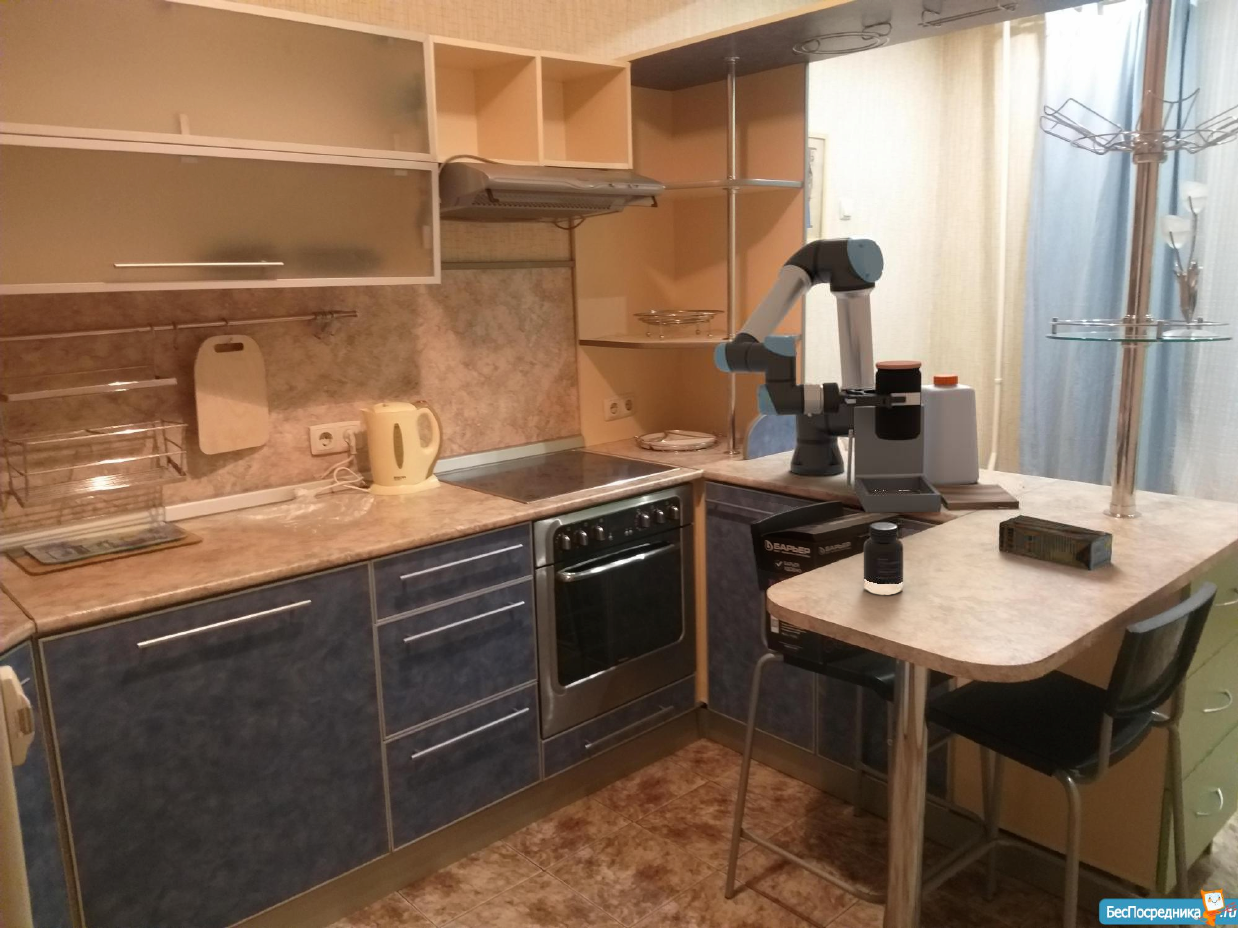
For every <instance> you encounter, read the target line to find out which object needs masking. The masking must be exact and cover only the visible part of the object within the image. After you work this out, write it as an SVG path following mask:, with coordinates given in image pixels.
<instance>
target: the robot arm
mask: <svg viewBox="0 0 1238 928" xmlns="http://www.w3.org/2000/svg"><path fill="white" fill-rule="evenodd" d="M883 256H884V255H883V253H882V249H881V247H880V245H879V243H877V242H876V240H875V239H873V238H872V237H870V236H858V235H853V236H845V237H835V238H820V239H816V240H812V241H811V242H808V243H807V244H806V245H804V246H802V247H800V248H799V249H798V250H797V251H796V252H794V253H793V254H792V255H791V256H790V257H789V258H788V259H787V260H786V261H785V263H784V264H783V265H782V266H781V268H780V269H779V270H778V275H777V276H778V278H777V280H776V281H775V282H774V283H773V285H772V286H771V288H770V289H769V290H768V292H767V293H766V294H765V296H764V297H763V299H762V300H761V301H760V303H759V304H758V305H757V307H756V308H755V309H754V311H753V312H752V313H751V315H750V316H749V317H748V319H746V321H745V323H744V324H743V326H742V327H741V328H740V330H739V331H738V332H737V334H736V335H735V336H734V337H733V339H732V341H725V342H721V343H719V344H718V345H717V346H716V347H715V350H714V355H713V360H714V361H713V362H714V364H715V366H716V368H717V369H718V370H719V371H721V372H726V373H731V374H734V373H737V374H738V373H740V374H741V373H742V374H745V373H746V374H763V375H764V383H763V384H761V385H760V384H759V385H758V386H757V390H756V391H757V392H756V393H757V411H758V414H760V415H762V416H777V417H779V416H795V438H796V439H795V440H796V441H795V448H794V451H793V453H792V456H791V459H790V463H789V464H790V465H789V466H790V470H791V471H792V472H791V471H790V472H791V473H793V472H794V473H793V474H795V473H798V474H797V475H800V474H802V475H801V476H810V475H814V476H815V477H817V476H818V477H820V476H822V477H823V476H832V475H837V474H841V473H843V472H845V461H844V458H843V455H842V452H841V449H840V445H839V441H838V440H839V439H838V438H848V439H849V430H853V439H854V407H863V406H878V407H888V409H891V408H892V405H920V393H892V394H891V395H890V394H888V395H887V394H875V368H874V367H875V366H874V362H875V361H874V350H873V349H874V348H873V329H872V326H873V325H872V311H871V296H870V295H871V293H872V291H874V290H875V289H876V282H878V281H879V280H880V279H881V278H882V275H883V271H884V264H885V263H884V257H883ZM821 284H829V292H830V293H831V295H833V296H834V297H835V298H836V311H837V312H836V315H837V327H838V328H837V329H838V331H837V332H838V343H839V344H838V345H839V358H840V361H839V362H840V372H841V373H840V374H841V386H839V384H838V383H837V382H823V383H822V384H821V383H819V382H805V383H797V354H798V353H797V346H796V345H797V344H796V338H795V336H794V335H792V334H775V332H776V331H777V329H778V328H779V327H780V325H782V323H783V321H784V320H785V319H786V318H787V316H788V315H789V313H790V311H791V310H792V309H793V307H795V305H796V303H797V302H798V300H799V299H800V298H801V296H802V295H805V294H807V293H808V292H810V290H812V287H815V286H818V285H821Z"/></svg>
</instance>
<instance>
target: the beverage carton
mask: <svg viewBox="0 0 1238 928" xmlns="http://www.w3.org/2000/svg"><path fill="white" fill-rule="evenodd" d="M998 527H999V528H998V550H999V551H1002V550H1003V551H1002V552H1006V551H1008V552H1007V553H1010V554H1011V553H1012V554H1016V555H1020V556H1024V557H1029V558H1032V559H1037V560H1040V561H1041V560H1042V561H1045V562H1051V563H1054V564H1057V565H1058V564H1059V565H1063V566H1067V567H1072V568H1076V569H1077V568H1078V569H1082V570H1087V571H1093V570H1096V569H1098V568H1101V567H1103V566H1105V565H1109V564H1110V563H1111V562H1112V555H1113V551H1112V550H1113V548H1112V547H1113V538H1114V534H1112V533H1109V532H1106V531H1103V530H1095V529H1090V528H1085V527H1081V526H1078V525H1077V526H1076V525H1072V524H1067V523H1062V522H1057V521H1052V520H1048V519H1045V518H1044V519H1042V518H1040V517H1039V518H1038V517H1034V516H1029V515H1022V514H1019V515H1018V516H1013V517H1011V518H1009V519H1007V520H1003V521H1000V522H999V525H998Z"/></svg>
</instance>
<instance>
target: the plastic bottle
mask: <svg viewBox="0 0 1238 928" xmlns="http://www.w3.org/2000/svg"><path fill="white" fill-rule="evenodd" d="M958 381H959V377H958V375H957V374H952V373H951V374H950V373H948V374H947V373H943V374H941V373H940V374H935V375H934V376H933V384H927V385H926V384H925V385H921V405H924V470H923V474H924V477H925V478H926V479H927V480H928V481H929V482H930V483H931V484H932V485H933V486H940V485H973V484H974V483H977V482H978V481H979V478H980V468H979V467H980V465H979V464H980V463H979V448H978V446H979V445H978V443H979V442H978V424H977V406H976V405H977V403H976V391H975V389H974V387H971V386H968V385H965V384H960V383H959V382H958Z"/></svg>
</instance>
